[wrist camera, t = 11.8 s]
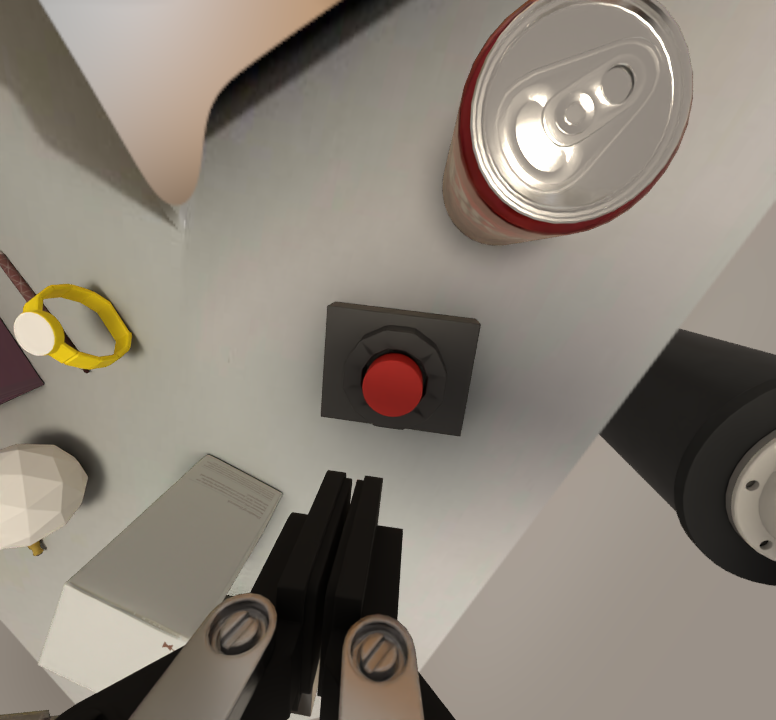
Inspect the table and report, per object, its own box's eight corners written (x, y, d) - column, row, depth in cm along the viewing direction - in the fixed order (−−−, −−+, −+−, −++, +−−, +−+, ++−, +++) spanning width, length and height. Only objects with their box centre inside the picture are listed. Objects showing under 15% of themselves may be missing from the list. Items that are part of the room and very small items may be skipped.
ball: (94, 432, 34) (48, 429, 27) (108, 518, 33) (64, 539, 26) (-12, 456, 31) (-96, 460, 24) (0, 551, 30) (-84, 585, 23)
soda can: (471, 266, 24) (514, 273, 13) (422, 161, 23) (420, 62, 11) (578, 209, 23) (738, 159, 11) (532, 93, 21) (661, -102, 10)
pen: (95, 368, 29) (84, 372, 28) (89, 373, 29) (77, 377, 28) (-1, 242, 27) (-17, 241, 26) (-8, 247, 27) (-24, 247, 26)
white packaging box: (207, 450, 30) (61, 579, 18) (285, 492, 30) (195, 646, 18) (178, 513, 32) (30, 667, 20) (252, 551, 33) (151, 725, 20)
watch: (152, 345, 28) (82, 367, 22) (127, 361, 29) (53, 387, 23) (102, 276, 27) (15, 281, 21) (77, 295, 27) (-14, 304, 22)
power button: (426, 356, 22) (426, 364, 21) (418, 409, 23) (418, 421, 22) (369, 349, 23) (364, 356, 21) (364, 402, 24) (359, 413, 22)
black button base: (476, 318, 25) (485, 329, 21) (457, 422, 27) (463, 449, 23) (335, 301, 26) (319, 309, 22) (328, 404, 28) (313, 428, 24)
